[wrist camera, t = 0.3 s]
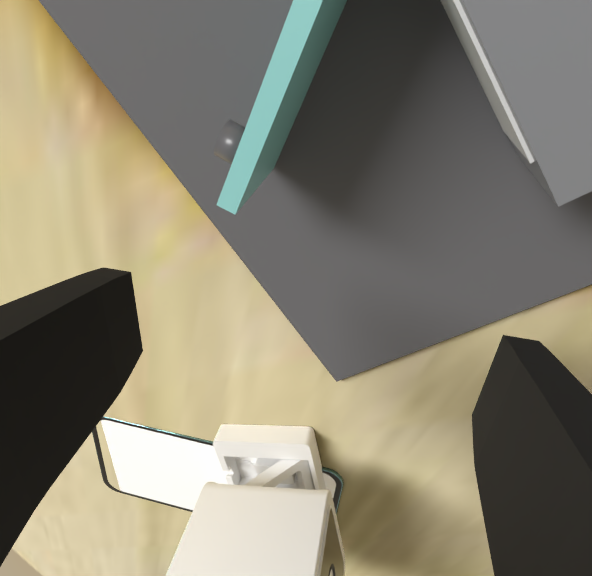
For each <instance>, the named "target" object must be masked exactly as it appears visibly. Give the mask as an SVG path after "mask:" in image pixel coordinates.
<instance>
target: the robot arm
mask: <svg viewBox="0 0 592 576" xmlns="http://www.w3.org/2000/svg"><path fill="white" fill-rule="evenodd" d="M142 352H143V349H142V342H141V336H140V329H139V322H138V316H137V309H136V303H135V296H134V289H133V283H132V276H131V272H127V271H121V270H115V269H109V268H100V269H97V270H93V271H90V272H87V273H84V274H81V275H78V276H76V277H73V278H70V279H68V280H65V281H62V282H60V283H57V284H55V285H52V286H50V287H47V288H45V289H42V290H40V291H37V292H35V293H32V294H29V295H27V296H24V297H22V298H19V299H17V300H14V301H12V302H9V303H7V304H4V305H2V306H0V566H1V565H2V563H3V561H4V559H5V558H6V556H7V555H8V553H9V551H10V550H11V548H12V546H13V545H14V543H15V541H16V540H17V538H18V537H19V535H20V533H21V532H22V530H23V528H24V527H25V525H26V523H27V522H28V520H29V518H30V517H31V515H32V513H33V512H34V510H35V509H36V507H37V506H38V504H39V503H40V501H41V500H42V499H43V497H44V496H45V494H46V493H47V491H48V490H49V488H50V487H51V486H52V484H53V483H54V482H55V480H56V479H57V477H58V476H59V475H60V473H61V472H62V471H63V469H64V468H65V467H66V465H67V464H68V463H69V461H70V460H71V459H72V457H73V456H74V455H75V453H76V452H77V451H78V449H79V448H80V447H81V445H82V444H83V443H84V441H85V440H86V439H87V437H88V436H89V435H90V433H91V432H92V431H93V429H94V428H95V426H96V425H97V424H98V422H99V421H100V420H101V418H102V417H103V416H104V414H105V413H106V411H107V410H108V409H109V407H110V406H111V405H112V403H113V402H114V400H115V399H116V398H117V396H118V395H119V393H120V392H121V390H122V388H123V387H124V385H125V383H126V381H127V380H128V378H129V376H130V374H131V373H132V371H133V369H134V367H135V365H136V363H137V361H138V359H139V357H140V355H141V353H142ZM472 427H473V449H474V464H475V471H476V477H477V483H478V489H479V494H480V500H481V505H482V511H483V516H484V522H485V527H486V532H487V538H488V543H489V549H490V554H491V559H492V565H493V570H494V575H495V576H592V394H591V393H590V392H589V391H588V390H587V389H586V388H585V387H584V386H583V385H582V384H581V383H580V382H579V381H578V380H577V379H576V378H575V377H574V376H573V375H572V374H571V372H570V371H569V370H568V369H567V368H566V367H565V366H564V365H563V364H562V363H561V362H560V361H559V360H558V359H557V358H556V357H555V356H554V355H553V354H552V353H551V352H550V351H549V350H548V349H547V348H546V347H545V346H544V345H543V344H542V343H540V342H539V341H535V340H529V339H523V338H517V337H511V336H505V335H503V336H502V339H501V342H500V344H499V347H498V349H497V352H496V355H495V357H494V360H493V362H492V365H491V367H490V370H489V373H488V375H487V378H486V380H485V383H484V385H483V388H482V391H481V393H480V396H479V398H478V401H477V403H476V406H475V409H474V411H473V414H472Z"/></svg>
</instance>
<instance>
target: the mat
mask: <svg viewBox="0 0 592 576" xmlns="http://www.w3.org/2000/svg"><path fill="white" fill-rule="evenodd" d="M39 1H40V3H41V4H42V5H43V6H44V8H45V9H46V10H47V12H48V13H49V14H50V15H51V17H52V18H53V19H54V20H55V22H56V23H57V24H58V26H59V27H60V28H61V29H62V31H63V32H64V33H65V35H66V36H67V37H68V38H69V40H70V41H71V42H72V44H73V45H74V46H75V47H76V49H77V50H78V51H79V52H80V54H81V55H82V56H83V58H84V59H85V60H86V61H87V63H88V64H89V65H90V67H91V68H92V69H93V70H94V72H95V73H96V74H97V76H98V77H99V78H100V79H101V81H102V82H103V83H104V84H105V86H106V87H107V88H108V90H109V91H110V92H111V93H112V95H113V96H114V97H115V99H116V100H117V101H118V102H119V104H120V105H121V106H122V108H123V109H124V110H125V111H126V113H127V114H128V115H129V117H130V118H131V119H132V120H133V122H134V123H135V124H136V125H137V127H138V128H139V129H140V131H141V132H142V133H143V134H144V136H145V137H146V138H147V140H148V141H149V142H150V143H151V145H152V146H153V147H154V149H155V150H156V151H157V152H158V154H159V155H160V156H161V157H162V159H163V160H164V161H165V163H166V164H167V165H168V166H169V168H170V169H171V170H172V172H173V173H174V174H175V175H176V177H177V178H178V179H179V181H180V182H181V183H182V184H183V186H184V187H185V188H186V189H187V191H188V192H189V193H190V195H191V196H192V197H193V198H194V200H195V201H196V202H197V204H198V205H199V206H200V207H201V209H202V210H203V211H204V213H205V214H206V215H207V216H208V218H209V219H210V220H211V221H212V223H213V224H214V225H215V227H216V228H217V229H218V230H219V232H220V233H221V234H222V236H223V237H224V238H225V239H226V241H227V242H228V243H229V245H230V246H231V247H232V248H233V250H234V251H235V252H236V254H237V255H238V256H239V257H240V259H241V260H242V261H243V262H244V264H245V265H246V266H247V268H248V269H249V270H250V271H251V273H252V274H253V275H254V277H255V278H256V279H257V280H258V282H259V283H260V284H261V286H262V287H263V288H264V289H265V291H266V292H267V293H268V294H269V296H270V297H271V298H272V300H273V301H274V302H275V303H276V305H277V306H278V307H279V309H280V310H281V311H282V312H283V314H284V315H285V316H286V318H287V319H288V320H289V321H290V323H291V324H292V325H293V326H294V328H295V329H296V330H297V332H298V333H299V334H300V335H301V337H302V338H303V339H304V341H305V342H306V343H307V344H308V346H309V347H310V348H311V350H312V351H313V352H314V353H315V355H316V356H317V357H318V358H319V360H320V361H321V362H322V364H323V365H324V366H325V367H326V369H327V370H328V371H329V373H330V374H331V375H332V376H333V378H334V379H335V380H336V382H337V381H339V380H342V379H345V378H347V377H350V376H353V375H355V374H358V373H360V372H363V371H366V370H368V369H371V368H374V367H376V366H379V365H381V364H384V363H387V362H389V361H392V360H395V359H397V358H400V357H403V356H405V355H408V354H410V353H413V352H416V351H418V350H421V349H424V348H426V347H429V346H431V345H434V344H437V343H439V342H442V341H445V340H447V339H450V338H452V337H455V336H458V335H460V334H463V333H466V332H468V331H471V330H473V329H476V328H479V327H481V326H484V325H487V324H489V323H492V322H494V321H497V320H500V319H502V318H505V317H508V316H510V315H513V314H515V313H518V312H521V311H523V310H526V309H529V308H531V307H534V306H536V305H539V304H542V303H544V302H547V301H550V300H552V299H555V298H557V297H560V296H563V295H565V294H568V293H571V292H573V291H576V290H578V289H581V288H584V287H586V286H589V285H592V191H591V192H589V193H587V194H585V195H583V196H581V197H578V198H576V199H574V200H572V201H570V202H568V203H565V204H563V205H561V206H559V207H558V206H557V204H556V203H555V202H554V201H553V199H552V198H551V197H550V195H549V194H548V193H547V192H546V190H545V189H544V188H543V187H542V185H541V184H540V183H539V182H538V180H537V179H536V178H535V177H534V175H533V174H532V173H531V171H530V170H529V169H528V168H527V166H526V165H525V164H524V163H523V161H522V160H521V159H520V158H519V156H518V155H517V154H516V152H515V150H514V148H513V146H512V144H511V142H510V140H509V138H508V136H507V135H506V134H505V133H504V131H503V129H502V127H501V125H500V123H499V121H498V119H497V117H496V115H495V113H494V111H493V109H492V107H491V104H490V102H489V100H488V98H487V96H486V94H485V92H484V90H483V88H482V86H481V84H480V82H479V80H478V77H477V75H476V73H475V71H474V69H473V67H472V65H471V63H470V61H469V59H468V57H467V55H466V53H465V50H464V48H463V46H462V44H461V42H460V40H459V38H458V36H457V34H456V32H455V30H454V28H453V26H452V23H451V21H450V19H449V17H448V15H447V13H446V11H445V9H444V7H443V5H442V3H441V1H440V0H347V2H346V4H345V6H344V8H343V11H342V13H341V15H340V18H339V20H338V22H337V25H336V27H335V29H334V31H333V34H332V36H331V38H330V41H329V43H328V45H327V47H326V50H325V52H324V54H323V57H322V59H321V61H320V64H319V66H318V68H317V70H316V73H315V75H314V77H313V80H312V82H311V84H310V87H309V89H308V91H307V93H306V96H305V98H304V100H303V103H302V105H301V107H300V109H299V112H298V114H297V116H296V119H295V121H294V123H293V126H292V128H291V130H290V132H289V135H288V137H287V139H286V142H285V144H284V146H283V149H282V151H281V153H280V155H279V158H278V160H277V162H276V165H275V167H274V169H273V170H272V171H271V172H270V174H269V175H268V176H267V177H266V178H265V180H264V181H263V182H262V183H261V184H260V186H259V187H258V188H257V189H256V190H255V192H254V193H253V194H252V195H251V196H250V198H249V199H248V200H247V201H246V202H245V204H244V205H243V206H242V207H241V208H240V210H239V211H238V212H237V213H236V214H233V213H231V212H229V211H227V210H225V209H223V208H221V207H219V206H217V202H218V199H219V197H220V194H221V191H222V189H223V186H224V183H225V181H226V178H227V175H228V173H229V170H230V167H231V165H232V164H230V163H229V162H227V161H225V160H223V159H221V158H219V157H217V156H215V155H214V149H215V145H216V142H217V139H218V137H219V134H220V132H221V130H222V128H223V127H224V125H225V124H226V122H227V121H228V120H230V119H231V120H233V121H234V122H236V123H238V124H240V125H242V126H244V127H246V125H247V122H248V119H249V117H250V114H251V111H252V109H253V106H254V103H255V101H256V98H257V95H258V93H259V90H260V87H261V85H262V82H263V79H264V77H265V74H266V71H267V69H268V66H269V63H270V61H271V58H272V55H273V53H274V50H275V47H276V45H277V42H278V40H279V37H280V34H281V32H282V29H283V26H284V24H285V21H286V18H287V16H288V13H289V10H290V8H291V5H292V2H293V0H39Z"/></svg>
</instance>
